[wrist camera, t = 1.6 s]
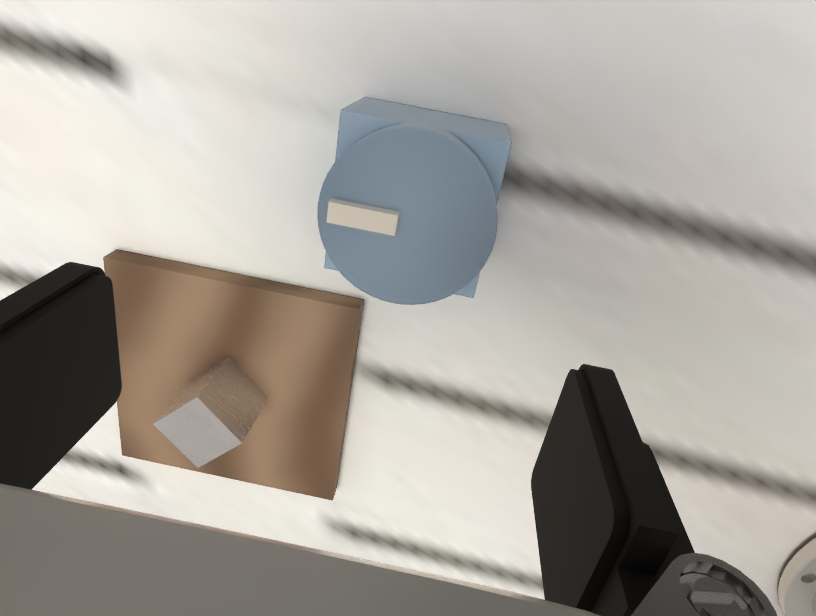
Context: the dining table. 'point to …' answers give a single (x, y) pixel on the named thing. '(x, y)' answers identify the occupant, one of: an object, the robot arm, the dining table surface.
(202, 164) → the dining table surface
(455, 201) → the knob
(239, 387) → the pale wood block
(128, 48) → the dining table surface
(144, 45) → the dining table surface
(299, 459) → the board
